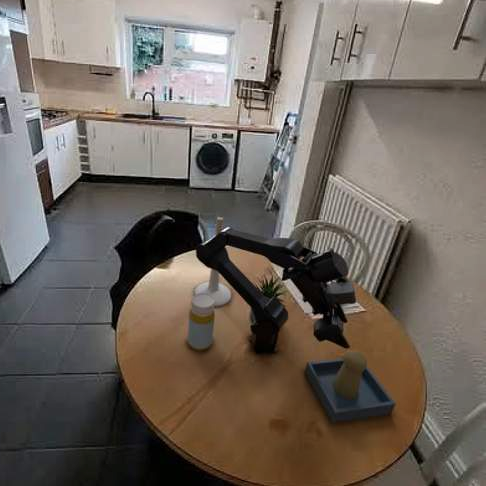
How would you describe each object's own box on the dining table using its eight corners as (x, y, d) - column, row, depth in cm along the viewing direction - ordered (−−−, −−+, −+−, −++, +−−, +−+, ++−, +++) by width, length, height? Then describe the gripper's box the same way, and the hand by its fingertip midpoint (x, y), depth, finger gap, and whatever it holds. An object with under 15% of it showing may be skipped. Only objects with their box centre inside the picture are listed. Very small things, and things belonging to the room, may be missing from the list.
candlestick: (187, 294, 108) (191, 215, 97) (210, 279, 118) (217, 206, 106) (215, 311, 101) (223, 229, 90) (238, 294, 110) (248, 218, 99)
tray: (332, 423, 70) (335, 412, 69) (304, 371, 82) (307, 362, 81) (391, 414, 73) (395, 403, 72) (356, 365, 85) (359, 356, 84)
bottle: (215, 338, 91) (220, 296, 85) (205, 355, 85) (209, 311, 79) (194, 329, 93) (197, 288, 87) (183, 345, 87) (185, 302, 81)
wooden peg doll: (328, 377, 80) (338, 345, 76) (350, 377, 81) (361, 345, 76) (339, 399, 74) (351, 366, 70) (363, 399, 75) (375, 366, 71)
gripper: (342, 295, 64) (384, 352, 65) (338, 254, 81) (373, 300, 82) (296, 314, 69) (336, 367, 70) (302, 272, 86) (334, 315, 87)
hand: (346, 334), depth 77 cm, fingers open, 9 cm apart
